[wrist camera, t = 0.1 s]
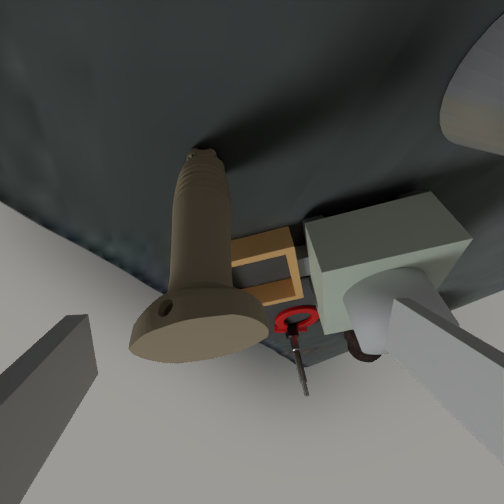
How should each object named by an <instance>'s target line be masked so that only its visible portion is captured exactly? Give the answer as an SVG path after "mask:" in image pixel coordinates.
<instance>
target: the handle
mask: <svg viewBox="0 0 504 504" xmlns="http://www.w3.org/2000/svg"><path fill="white" fill-rule="evenodd" d="M268 334H269V329H268V323H267V317H266V312H265V309H264V307H263V304H262V303H261V302H260V301H259V300H258V299H257V298H256V297H254V296H253V295H251V294H250V293H248V292H245V291H243V290H241V289H237V288H234V287H233V283H232V259H231V198H230V191H229V186H228V181H227V178H226V175H225V168H224V164H223V162H222V161H221V160H219V159H218V157H217V156H216V152H215V151H214V150H213V149H210V148H209V149H207V150H199V149H197V148H193V149H191V150H190V151H189V152H188V155H187V161H186V162H185V163H184V165H183V167H182V169H181V172H180V174H179V177H178V181H177V185H176V189H175V194H174V201H173V215H172V245H171V265H170V281H169V287H168V293H166V294H164V295H162V296H161V297H159V298H158V299H157V300H155V301H154V302H153V303H152V304H151V305H150V306H149V307H148V308H147V309H146V310H145V311H144V312H143V313H142V314H141V316H140V317H139V318H138V320H137V321H136V323H135V324H134V326H133V330H132V335H131V339H130V344H129V350H130V351H131V352H132V353H133V354H134V355H136V356H139V357H141V358H144V359H147V360H152V361H157V362H163V363H184V362H192V361H200V360H207V359H212V358H217V357H221V356H224V355H228V354H231V353H234V352H238V351H241V350H244V349H246V348H248V347H250V346H252V345H254V344H256V343H258V342H260V341H262V340H263V339H265V338H267V336H268Z"/></svg>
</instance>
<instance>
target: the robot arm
mask: <svg viewBox="0 0 504 504" xmlns="http://www.w3.org/2000/svg"><path fill="white" fill-rule="evenodd" d="M385 350H386V351H387V352H388V353H389V354H390V355H391V356H392V357H393V358H394V359H395V360H396V361H397V362H398V363H399V364H400V365H401V366H402V367H403V368H404V369H405V370H406V371H407V372H408V373H409V374H410V375H411V376H413V378H414V379H416V380H417V381H418V382H419V383H420V384H421V385H422V386H423V387H424V388H425V389H426V390H427V391H428V392H429V393H430V394H431V395H432V396H433V397H434V398H435V399H436V400H437V401H438V402H439V403H440V404H441V405H442V406H443V407H444V408H445V409H447V410H448V411H449V412H450V413H451V414H452V415H453V416H454V417H455V418H456V419H457V420H458V421H459V422H460V423H461V424H462V425H463V426H464V427H465V428H466V429H467V430H468V431H469V432H470V433H471V434H472V435H473V436H474V437H475V438H476V439H478V440H479V441H480V442H481V443H482V444H483V445H484V446H485V447H486V448H487V449H488V450H489V451H490V452H491V453H492V454H493V455H494V456H495V457H496V458H497V459H498V460H499V461H500V462H501V463H502V464H503V465H504V353H503V352H501V351H499V350H497V349H496V348H494V347H492V346H491V345H489V344H487V343H485V342H483V341H482V340H480V339H479V338H477V337H475V336H473V335H472V334H470V333H468V332H467V331H465V330H463V329H461V328H460V327H458V326H456V325H455V324H453V323H451V322H449V321H448V320H446V319H444V318H443V317H441V316H439V315H437V314H436V313H434V312H432V311H431V310H429V309H427V308H425V307H424V306H422V305H420V304H419V303H417V302H415V301H413V300H412V299H410V298H394V301H393V306H392V311H391V317H390V322H389V327H388V333H387V338H386V344H385ZM97 374H98V371H97V365H96V359H95V353H94V347H93V342H92V336H91V329H90V323H89V317H88V314H84V315H67V316H65V317H64V318H63V319H62V320H61V321H59V323H57V324H56V325H55V326H54V327H53V328H52V329H51V330H49V331H48V332H47V333H46V334H45V335H44V336H43V337H42V338H41V339H39V341H37V342H36V343H35V344H34V345H33V346H32V347H31V348H30V349H28V350H27V351H26V352H25V353H24V354H23V355H22V356H21V357H19V358H18V359H17V360H16V361H15V362H14V363H13V364H12V365H11V366H9V367H8V368H7V369H6V370H5V371H4V372H3V373H2V374H1V375H0V504H19V503H20V502H21V500H22V499H23V497H24V495H25V494H26V492H27V490H28V489H29V487H30V485H31V484H32V482H33V481H34V479H35V477H36V475H37V474H38V472H39V471H40V469H41V467H42V466H43V464H44V462H45V461H46V459H47V457H48V456H49V454H50V452H51V451H52V449H53V447H54V446H55V444H56V442H57V441H58V439H59V437H60V436H61V434H62V433H63V431H64V429H65V427H66V426H67V424H68V423H69V421H70V419H71V418H72V416H73V414H74V413H75V411H76V409H77V408H78V406H79V404H80V403H81V401H82V399H83V398H84V396H85V394H86V393H87V391H88V390H89V388H90V386H91V385H92V383H93V381H94V380H95V378H96V376H97Z"/></svg>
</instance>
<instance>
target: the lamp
mask: <svg viewBox="0 0 504 504" xmlns="http://www.w3.org/2000/svg"><path fill="white" fill-rule="evenodd" d="M440 126H441V130H442V133H443V134H444V136H445V137H446V138H447V140H449V141H451V142H452V143H454V144H457V145H462V146H466V147H470V148H474V149H478V150H482V151H486V152H490V153H494V154H498V155H503V156H504V14H503V15H501V16H500V17H499V18H498V19H497V20H496V21H495V22H494V23H493V24H492V25H491V26H490V27H489V28H488V29H487V30H486V31H485V33H484V34H483V35H482V36H481V37H480V38H479V39H478V41H477V42H476V43H475V44H474V45H473V46H472V48H471V49H470V51H469V52H468V53H467V55H466V56H465V58H464V59H463V60H462V62H461V63H460V65H459V66H458V68H457V70H456V72H455V74H454V75H453V77H452V79H451V81H450V83H449V85H448V88H447V90H446V92H445V95H444V98H443V101H442V106H441V110H440Z"/></svg>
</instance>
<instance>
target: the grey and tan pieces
mask: <svg viewBox="0 0 504 504" xmlns="http://www.w3.org/2000/svg"><path fill="white" fill-rule="evenodd" d="M302 228H303V234H304V239H305V243H306V244H305V245H301V246H297V247H294V244H293V240H292V237H291V233H290V230H289V226H287V227H283V228H279V229H275V230H271V231H267V232H263V233H259V234H255V235H251V236H247V237H243V238H239V239H235V240H231V259H232V267H235V266H239V265H243V264H248V263H252V262H256V261H260V260H264V259H268V258H273V257H277V256H281V255H285V254H286V257H287V261H288V266H289V270H290V274H291V278H289V279H284V280H280V281H276V282H271V283H267V284H262V285H258V286H254V287H249V288H245V289H241V290H243V291H245V292H248V293H250V294H251V295H253V296H254V297H256V298H257V299H258V300H259V301H260V302H261V303H262V304H263V306H267V305H272V304H277V303H281V302H286V301H291V300H295V299H300V298H304V297H303V292H302V286H301V281H300V277H303V276H309V281H310V286H311V290H312V294H313V297H314V301H315V304H316V307H317V311H318V314H319V317H320V321H321V324H322V327H323V331H324V334H325V335H327V334H332V333H337V332H342V331H347V330H352V329H354V332H355V334H356V337H357V340H358V342H359V345H360V348H361V350H362V352H363V353H366V354H372V355H380V354H389V353H388V352H387V351H386V350H385V344H386V338H387V333H388V327H389V322H390V317H391V311H392V306H393V301H394V298H410V299H412V300H413V301H415V302H417V303H419V304H420V305H422V306H424V307H425V308H427V309H429V310H431V311H432V312H434V313H436V314H437V315H439V316H441V317H443V318H444V319H446V320H448V321H449V322H451V323H453V324H455V325H456V326H458V327H459V323H458V322H457V320H456V319H455V317H454V316H453V314H452V313H451V311H450V310H449V308H448V307H447V305H446V304H445V302H444V301H443V299H442V298H441V296H440V294H439V293H438V291H437V289H438V288H439V286H440V285H441V283H442V282H443V280H444V279H445V278H446V276H447V275H448V273H449V272H450V271H451V269H452V268H453V266H454V265H455V264H456V262H457V261H458V259H459V258H460V256H461V255H462V254H463V252H464V251H465V249H466V248H467V247H468V245H469V244H470V242H471V241H472V239H473V237H472V236H471V235H470V234H469V233H468V232H467V231H466V230H465V229H464V227H463V226H462V225H461V224H460V223H459V222H458V221H457V220H456V219H455V217H454V216H453V215H452V214H451V213H450V212H449V211H448V210H447V209H446V207H445V206H444V205H443V204H442V203H441V202H440V201H439V200H438V199H437V197H436V196H435V195H434V194H433V193H432V192H431V191H429V190H427V189H419V190H415V191H412V192H408V193H404V194H400V195H398V196H397V197H396V198H395V200H394V201H390V202H386V203H382V204H378V205H374V206H370V207H366V208H362V209H358V210H355V211H351V212H347V213H343V214H339V215H335V216H331V217H327V218H324V216H323V215H317V216H314V217H310V218H306V219H302Z"/></svg>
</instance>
